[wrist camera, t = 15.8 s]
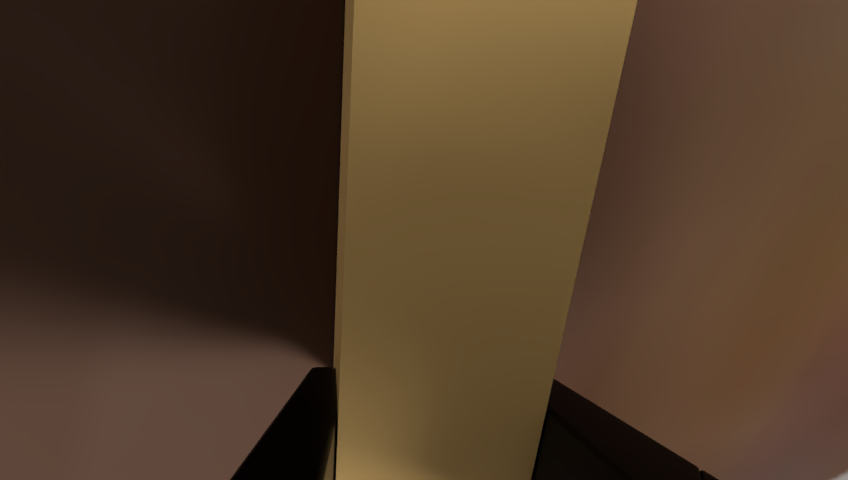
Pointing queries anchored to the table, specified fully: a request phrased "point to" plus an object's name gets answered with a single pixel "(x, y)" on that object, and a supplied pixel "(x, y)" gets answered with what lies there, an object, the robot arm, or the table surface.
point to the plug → (463, 224)
